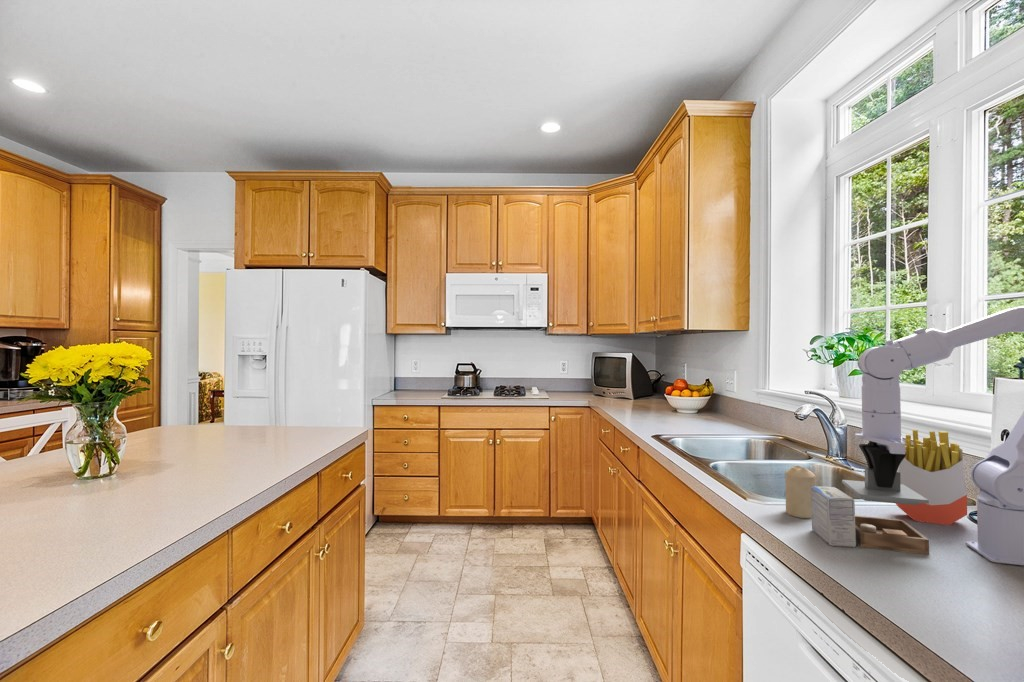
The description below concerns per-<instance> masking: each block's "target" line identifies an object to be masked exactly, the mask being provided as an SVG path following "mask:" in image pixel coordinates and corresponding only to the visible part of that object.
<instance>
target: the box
mask: <svg viewBox="0 0 1024 682" xmlns="http://www.w3.org/2000/svg"><path fill="white" fill-rule="evenodd" d="M855 534H856V545H858V546H859V547H860V548H866V549H874V550H884V551H893V552H902V553H912V554H922V555H930V538H929V539H928V538H927V537H926V536H925V535H923V534H922V533H921V532H920V531H918V530H917V529H916V528H915V527H913V525H911V524H909V523H907V521H905V519H895V518H886V517H874V516H865V515H864V516H863V515H855Z"/></svg>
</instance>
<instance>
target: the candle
mask: <svg viewBox="0 0 1024 682" xmlns="http://www.w3.org/2000/svg"><path fill="white" fill-rule="evenodd" d="M784 475H785V485H784V487H785V512H786V514H787V513H788V515H789V516H792V517H795V518H800V519H801V518H802V519H812V507H811V487H815V486H816V475H815V474H814V472H812V471H810V470H809V469H808V468H805V467H803V466H800V465H793V466H791V467H790V468H789V469H787V470H786V471H785V473H784Z"/></svg>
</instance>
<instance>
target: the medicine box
mask: <svg viewBox="0 0 1024 682" xmlns="http://www.w3.org/2000/svg"><path fill="white" fill-rule="evenodd" d="M811 507H812V518H811V530H812V531H813V532H814V533H816V534H817V535H818V536H819V537H820V538H821V539H822V540H823V541H824V542H826V543H827V544H828V545H829V546H833V547H846V548H855V547H857V543H856V534H855V516H856V511H855V510H856V504H855V499H854V498H853V497H851V496H850V495H848V494H846V493H845V492H843V491H842V490H840V489H839V488H836V487H835V486H819V485H818V486H817V485H815V487H811Z"/></svg>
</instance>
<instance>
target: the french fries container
mask: <svg viewBox="0 0 1024 682" xmlns="http://www.w3.org/2000/svg"><path fill="white" fill-rule="evenodd" d="M928 432H929V433H928V434H929V436H928V437H923V439H922V440H919V431H918V429H913V430H912V435H911V434H905V439H904V441H905V442H904V443H905V452H906V456H905V458H904V459H903V460H902V462H901V463H900V465H899V467H898V470H897V471H899V472H900V484H903V485H905V486H907V487H908V488H910V489H911V490H913V491H915V492H916V493H918V494H920V495H921V496H923V497H924V498H926V499H928V500H929V504H927V503H919V505H909V504H898V503H894V504H895V505H896V506H897V507H898V508H899V510H901V511H902V512H904V514H906V515H907V516H908V517H910V518H911V519H912V520H913V521H915V522H922V523H929V524H936V525H937V524H938V525H946V526H950V525H952V524H954V523H956V522H958V521H959V520H960V519H963V518H965V517H966V516H968V494H967V493H968V492H967V484H966V477H965V468H964V460H963V459H964V458H963V453H964V452H963V449H962V448H961V447H960V445H959V444H958V443H955V442H950V441H949V432H948V431H937V432H938V440H939V443H938V441H937V437H936V431H934V430H931V431H928ZM912 440H913V442H912ZM912 443H913V444H912Z"/></svg>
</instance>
